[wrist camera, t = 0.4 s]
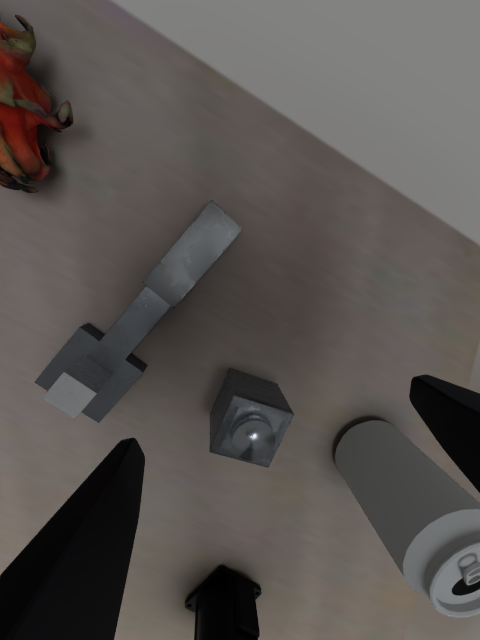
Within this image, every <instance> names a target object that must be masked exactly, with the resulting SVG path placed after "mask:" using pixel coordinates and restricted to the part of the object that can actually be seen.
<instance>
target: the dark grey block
mask: <svg viewBox="0 0 480 640" xmlns="http://www.w3.org/2000/svg"><path fill="white" fill-rule="evenodd" d="M293 416H294V414H293V412H292V410H291V408H290V406H289V404H288V403H287V401H286V399H285V397H284V395H283V393H282V392H281V390H280V388H279V386H278V384H276V383H273V382H270V381H267V380H264V379H261V378H258V377H255V376H252V375H249V374H246V373H243V372H240V371H237V370H234V369H231V368H229V370H228V372H227V375H226V377H225V379H224V382H223V384H222V387H221V389H220V391H219V394H218V396H217V399H216V401H215V403H214V406H213V408H212V411H211V413H210V452H211V453H215V454H219V455H223V456H227V457H230V458H234V459H238V460H242V461H245V462H249V463H253V464H257V465H260V466H264V467H269V465H270V463H271V461H272V459H273V457H274V455H275V453H276V451H277V449H278V447H279V445H280V443H281V441H282V438H283V436H284V434H285V432H286V430H287V428H288V426H289V424H290V422H291V420H292V418H293Z"/></svg>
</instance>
